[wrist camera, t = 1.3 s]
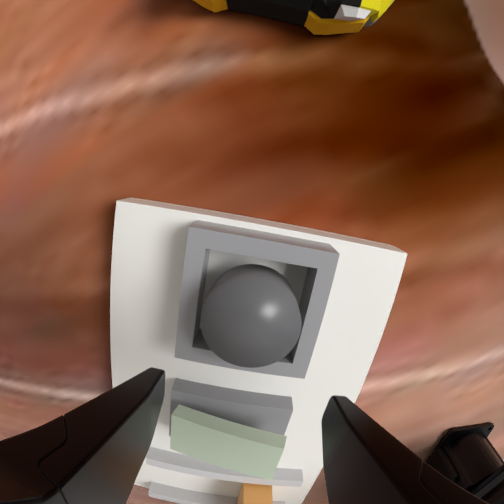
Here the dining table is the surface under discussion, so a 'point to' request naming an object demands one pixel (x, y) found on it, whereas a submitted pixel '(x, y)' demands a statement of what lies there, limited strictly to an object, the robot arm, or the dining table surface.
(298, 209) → the dining table surface
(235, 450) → the rocker
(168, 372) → the panel
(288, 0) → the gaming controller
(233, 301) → the push button
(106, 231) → the dining table surface
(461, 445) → the robot arm
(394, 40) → the dining table surface
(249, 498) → the orange rectangular block
